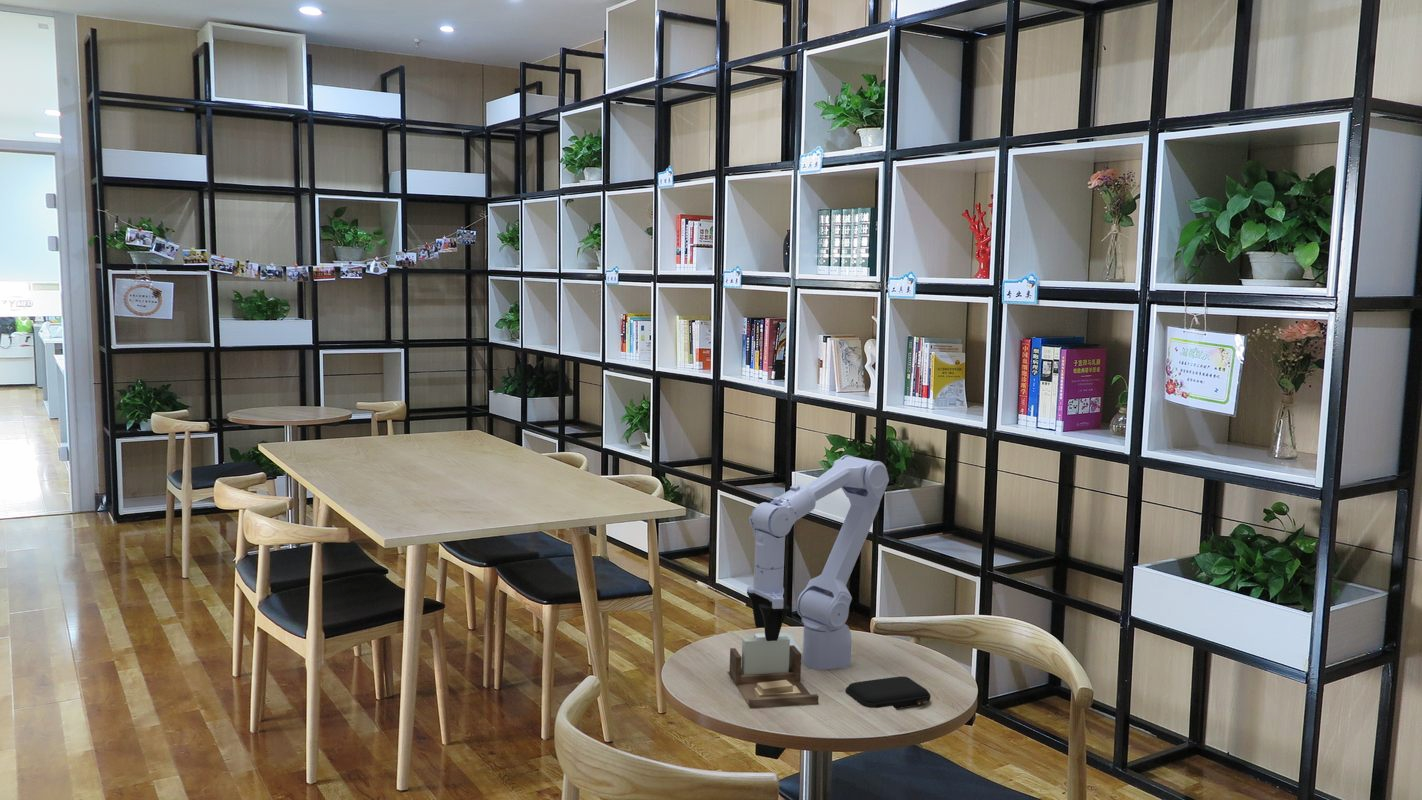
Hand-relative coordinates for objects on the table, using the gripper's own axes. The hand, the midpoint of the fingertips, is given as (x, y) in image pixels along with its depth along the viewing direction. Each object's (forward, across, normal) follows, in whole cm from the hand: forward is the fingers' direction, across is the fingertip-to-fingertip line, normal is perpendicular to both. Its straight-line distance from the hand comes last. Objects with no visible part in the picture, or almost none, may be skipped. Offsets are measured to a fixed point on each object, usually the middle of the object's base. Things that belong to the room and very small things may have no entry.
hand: (766, 633), depth 208 cm
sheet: (+9, 0, 0) cm, 9 cm away
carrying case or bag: (+11, +12, +21) cm, 26 cm away
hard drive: (+11, -20, +9) cm, 24 cm away
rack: (+10, +4, 0) cm, 11 cm away
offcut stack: (+9, +9, 0) cm, 13 cm away
